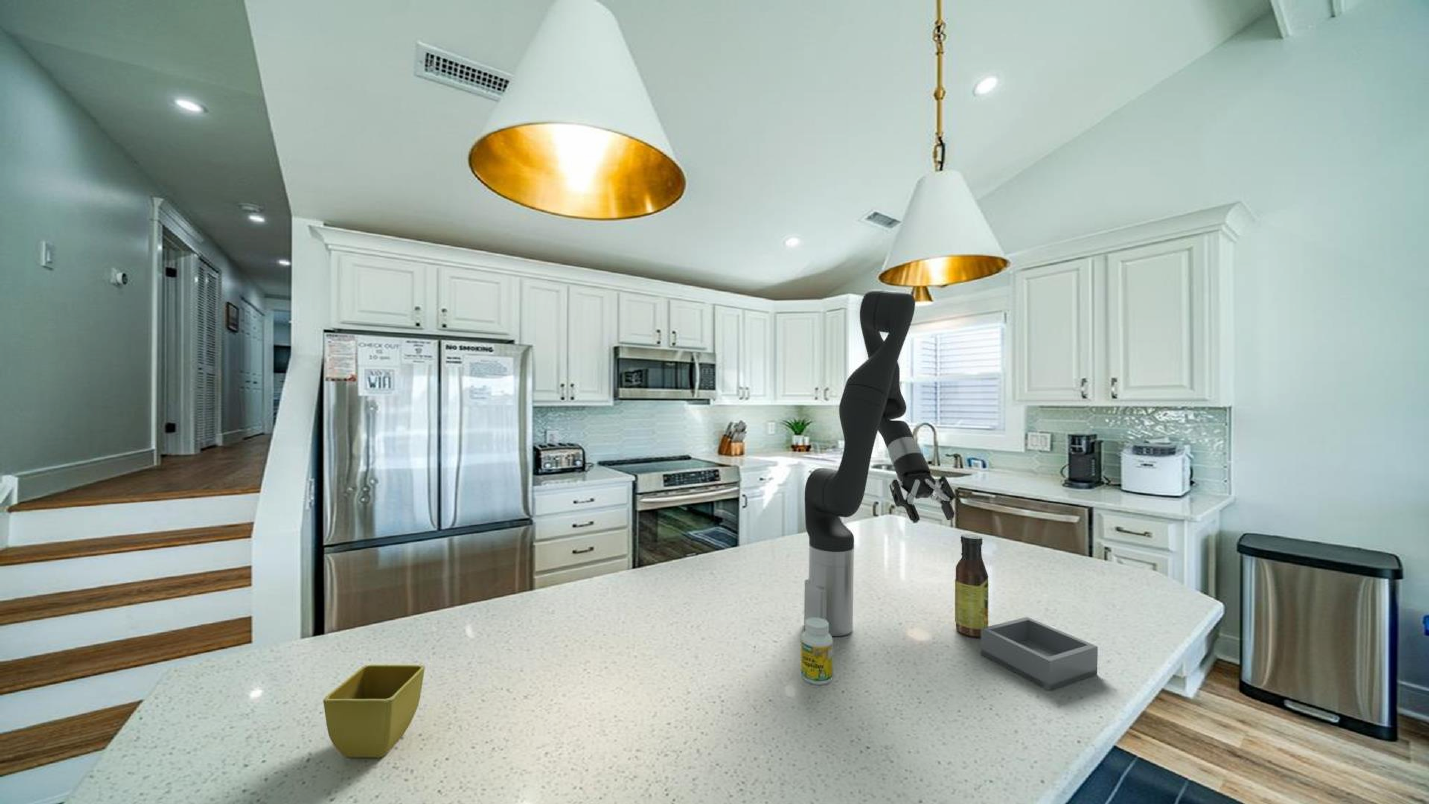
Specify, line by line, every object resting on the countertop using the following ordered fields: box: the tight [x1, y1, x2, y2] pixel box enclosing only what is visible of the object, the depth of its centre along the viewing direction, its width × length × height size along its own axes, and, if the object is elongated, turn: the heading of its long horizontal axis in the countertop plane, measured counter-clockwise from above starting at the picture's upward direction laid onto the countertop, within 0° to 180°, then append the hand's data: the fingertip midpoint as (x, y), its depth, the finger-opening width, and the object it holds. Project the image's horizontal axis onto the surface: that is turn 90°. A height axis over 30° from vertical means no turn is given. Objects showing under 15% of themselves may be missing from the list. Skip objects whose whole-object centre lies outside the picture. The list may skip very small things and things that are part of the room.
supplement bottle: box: [800, 618, 834, 686], centre depth 88 cm, size 5×5×10 cm
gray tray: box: [980, 616, 1099, 692], centre depth 93 cm, size 13×13×5 cm
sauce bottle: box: [954, 533, 989, 638], centre depth 106 cm, size 7×6×20 cm
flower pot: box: [322, 664, 426, 758], centre depth 70 cm, size 9×9×9 cm
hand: (934, 520), depth 116 cm, fingers open, 8 cm apart
